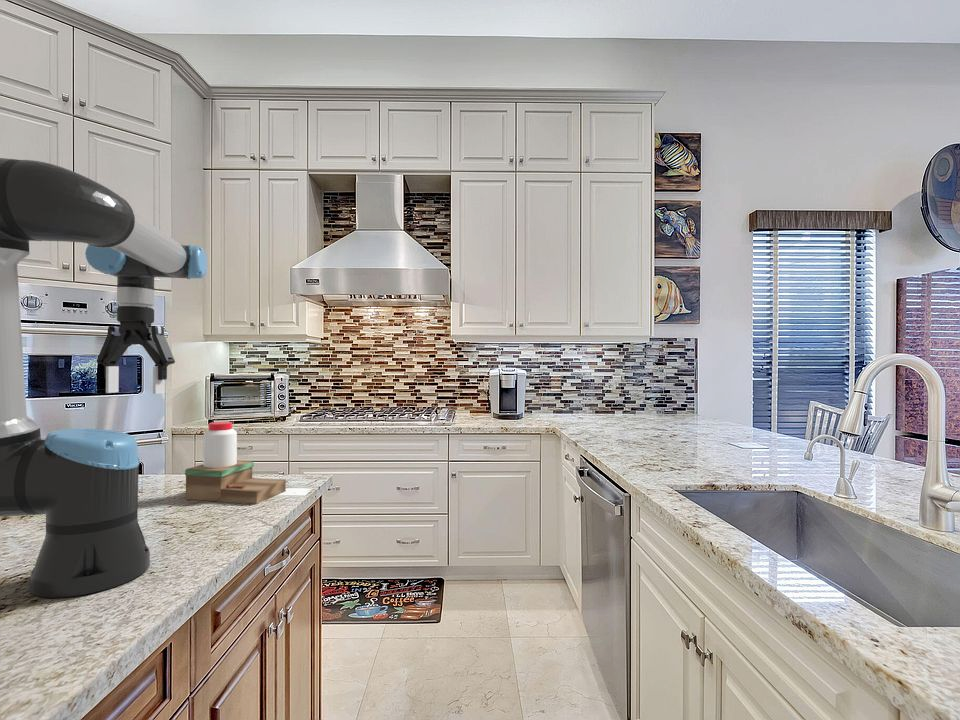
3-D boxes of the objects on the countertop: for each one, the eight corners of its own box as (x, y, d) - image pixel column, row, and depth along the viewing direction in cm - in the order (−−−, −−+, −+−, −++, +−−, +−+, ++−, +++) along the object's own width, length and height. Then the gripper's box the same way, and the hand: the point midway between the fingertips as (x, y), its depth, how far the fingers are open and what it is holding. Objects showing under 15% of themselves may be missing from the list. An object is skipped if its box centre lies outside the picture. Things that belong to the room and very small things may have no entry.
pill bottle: (242, 462, 131) (243, 421, 132) (225, 468, 124) (225, 425, 124) (215, 461, 132) (215, 421, 132) (196, 467, 124) (196, 424, 125)
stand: (255, 504, 119) (256, 473, 119) (184, 499, 123) (185, 469, 123) (285, 491, 131) (285, 462, 131) (220, 486, 135) (220, 459, 135)
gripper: (191, 307, 121) (191, 393, 121) (108, 309, 126) (107, 391, 126) (166, 303, 114) (166, 395, 114) (79, 305, 119) (78, 393, 119)
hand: (135, 393), depth 120 cm, fingers open, 13 cm apart
